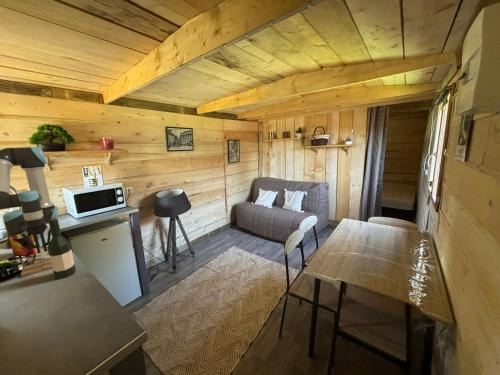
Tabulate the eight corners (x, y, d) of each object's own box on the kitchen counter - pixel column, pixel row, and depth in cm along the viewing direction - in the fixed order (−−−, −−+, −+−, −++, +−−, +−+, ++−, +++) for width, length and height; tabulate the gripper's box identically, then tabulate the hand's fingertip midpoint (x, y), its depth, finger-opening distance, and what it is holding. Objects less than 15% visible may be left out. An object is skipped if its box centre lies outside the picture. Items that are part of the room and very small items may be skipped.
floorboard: (24, 268, 114) (23, 266, 114) (63, 257, 124) (62, 255, 124) (21, 277, 106) (20, 275, 106) (63, 265, 116) (62, 262, 116)
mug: (35, 256, 126) (30, 238, 124) (9, 258, 125) (4, 240, 122) (48, 248, 136) (44, 231, 133) (24, 250, 134) (19, 233, 132)
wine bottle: (53, 274, 108) (40, 219, 102) (74, 267, 114) (62, 214, 108) (55, 281, 102) (41, 223, 96) (77, 273, 108) (65, 218, 102)
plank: (37, 253, 130) (37, 250, 130) (55, 248, 135) (54, 246, 135) (34, 265, 117) (34, 262, 117) (54, 260, 122) (53, 257, 122)
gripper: (15, 223, 109) (27, 264, 114) (50, 217, 118) (59, 255, 122) (18, 219, 115) (28, 259, 120) (50, 214, 123) (59, 251, 128)
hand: (44, 257), depth 121 cm, fingers closed
